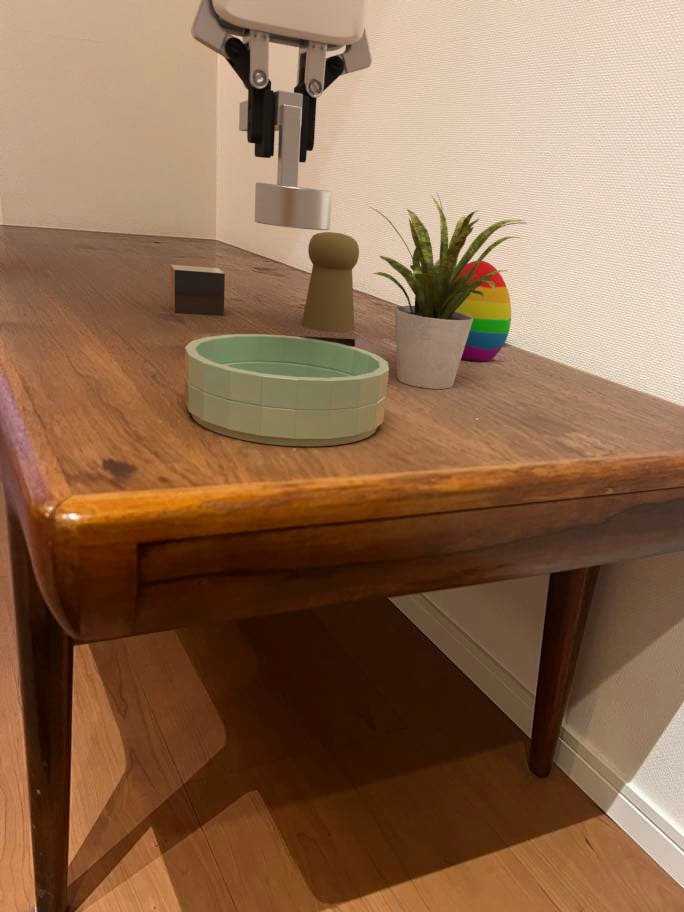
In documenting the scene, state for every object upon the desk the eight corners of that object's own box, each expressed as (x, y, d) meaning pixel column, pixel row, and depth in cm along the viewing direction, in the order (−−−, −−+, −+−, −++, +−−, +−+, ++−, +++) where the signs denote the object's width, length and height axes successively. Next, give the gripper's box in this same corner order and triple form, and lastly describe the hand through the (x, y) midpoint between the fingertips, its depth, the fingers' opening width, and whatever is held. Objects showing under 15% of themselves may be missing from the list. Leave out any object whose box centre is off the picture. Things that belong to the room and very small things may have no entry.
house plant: (540, 391, 74) (575, 205, 67) (471, 414, 63) (505, 195, 57) (415, 360, 81) (436, 188, 74) (332, 376, 70) (348, 176, 63)
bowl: (200, 448, 48) (201, 376, 46) (175, 389, 60) (175, 329, 58) (410, 447, 53) (418, 382, 51) (349, 393, 65) (354, 338, 63)
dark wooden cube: (174, 329, 81) (174, 269, 78) (170, 321, 84) (170, 264, 82) (223, 331, 82) (224, 273, 80) (217, 324, 86) (218, 268, 83)
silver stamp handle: (216, 208, 65) (217, 99, 62) (276, 214, 67) (280, 108, 63) (263, 225, 49) (267, 80, 46) (338, 232, 51) (348, 93, 48)
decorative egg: (518, 361, 87) (535, 267, 82) (473, 367, 81) (488, 266, 77) (462, 345, 91) (475, 256, 87) (415, 349, 86) (427, 254, 82)
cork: (317, 348, 80) (324, 234, 75) (288, 336, 84) (294, 227, 80) (365, 347, 84) (376, 238, 79) (336, 335, 88) (344, 231, 83)
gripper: (393, -126, 53) (368, 171, 60) (151, -195, 47) (157, 144, 55) (436, -163, 47) (403, 174, 54) (163, -247, 41) (168, 144, 48)
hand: (279, 157), depth 54 cm, fingers closed on silver stamp handle
